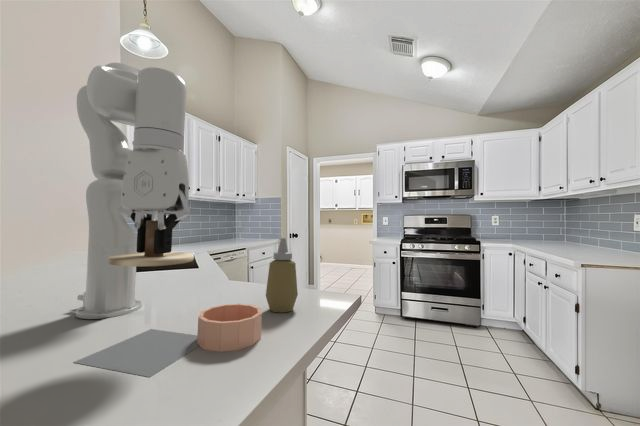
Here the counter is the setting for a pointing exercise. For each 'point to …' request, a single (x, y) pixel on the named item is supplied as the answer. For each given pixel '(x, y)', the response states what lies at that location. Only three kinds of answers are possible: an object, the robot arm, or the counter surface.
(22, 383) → the counter surface
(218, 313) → the bowl
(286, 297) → the squeeze bottle
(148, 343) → the mat
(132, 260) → the lid
